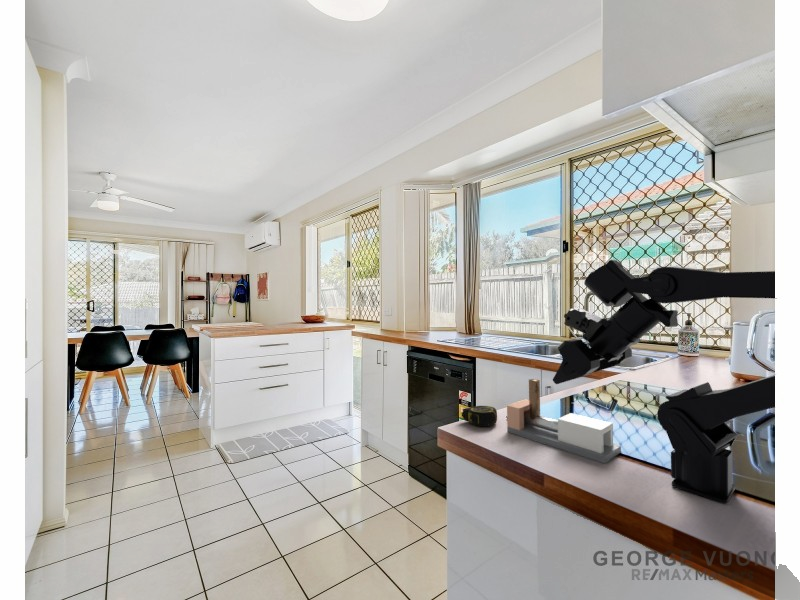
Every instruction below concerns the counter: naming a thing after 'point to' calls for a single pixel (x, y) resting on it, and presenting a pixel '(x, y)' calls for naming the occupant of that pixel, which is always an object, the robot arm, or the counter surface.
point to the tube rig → (567, 433)
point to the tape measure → (480, 415)
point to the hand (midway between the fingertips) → (566, 378)
